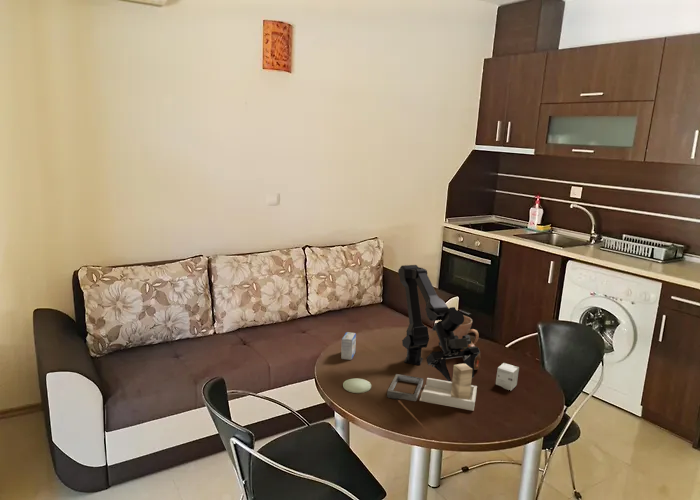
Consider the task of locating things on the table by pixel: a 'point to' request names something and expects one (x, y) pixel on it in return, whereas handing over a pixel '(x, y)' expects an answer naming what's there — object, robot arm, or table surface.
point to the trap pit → (403, 395)
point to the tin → (477, 359)
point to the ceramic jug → (465, 330)
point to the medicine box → (348, 346)
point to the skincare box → (507, 376)
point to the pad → (357, 385)
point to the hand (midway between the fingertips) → (461, 379)
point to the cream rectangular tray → (446, 394)
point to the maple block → (461, 381)
